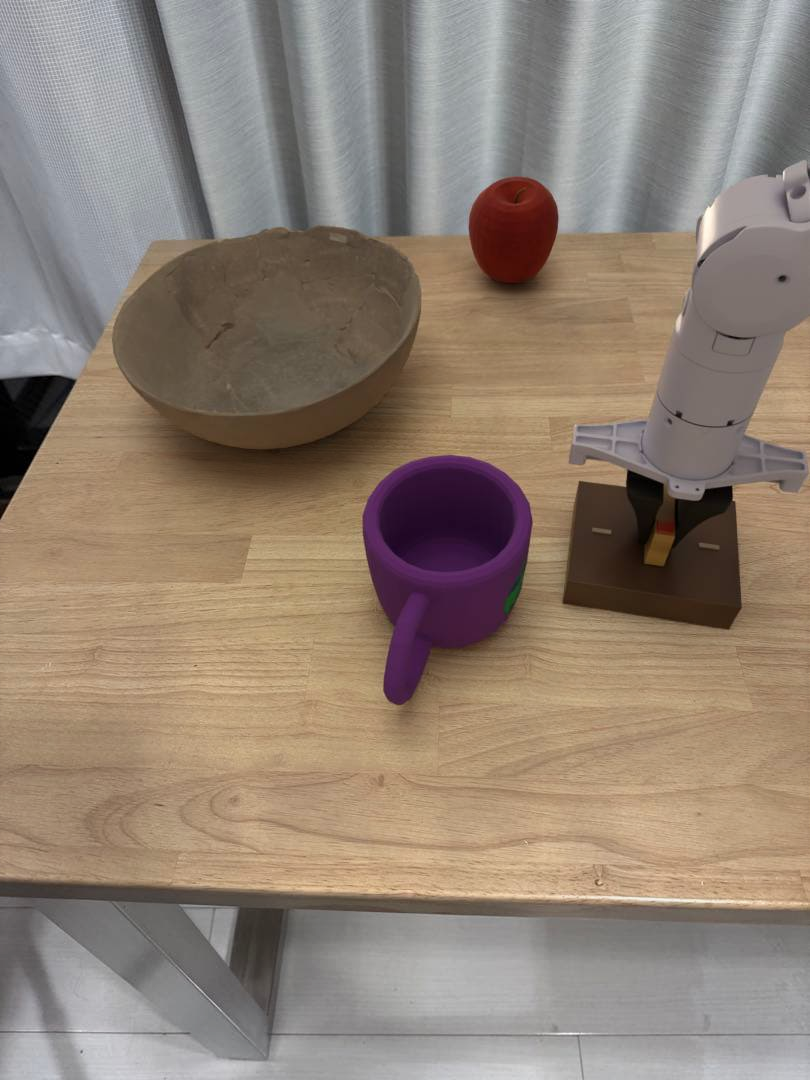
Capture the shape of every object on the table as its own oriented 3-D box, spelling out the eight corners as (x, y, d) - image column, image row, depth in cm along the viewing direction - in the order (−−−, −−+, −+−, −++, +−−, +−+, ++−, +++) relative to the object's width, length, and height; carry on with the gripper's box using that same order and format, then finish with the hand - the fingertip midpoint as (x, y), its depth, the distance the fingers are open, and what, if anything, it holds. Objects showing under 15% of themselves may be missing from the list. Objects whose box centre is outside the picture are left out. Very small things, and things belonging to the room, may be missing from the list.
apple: (460, 294, 80) (461, 206, 72) (475, 248, 86) (478, 161, 78) (546, 302, 78) (557, 213, 70) (556, 254, 84) (567, 166, 76)
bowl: (453, 323, 77) (453, 234, 69) (377, 517, 61) (366, 430, 53) (218, 293, 83) (194, 208, 75) (92, 464, 67) (44, 378, 59)
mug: (403, 524, 60) (395, 437, 52) (537, 556, 58) (550, 470, 50) (319, 708, 51) (294, 636, 43) (476, 759, 48) (481, 691, 40)
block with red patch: (646, 512, 56) (656, 479, 53) (664, 515, 56) (676, 482, 53) (643, 564, 53) (655, 532, 50) (663, 567, 53) (676, 535, 50)
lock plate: (724, 524, 59) (736, 499, 56) (729, 629, 53) (742, 606, 50) (573, 504, 61) (579, 479, 58) (562, 603, 55) (567, 579, 52)
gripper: (577, 425, 42) (551, 562, 53) (846, 457, 40) (762, 595, 50) (586, 350, 46) (561, 491, 57) (830, 375, 44) (756, 517, 54)
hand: (655, 535), depth 54 cm, fingers closed on block with red patch
